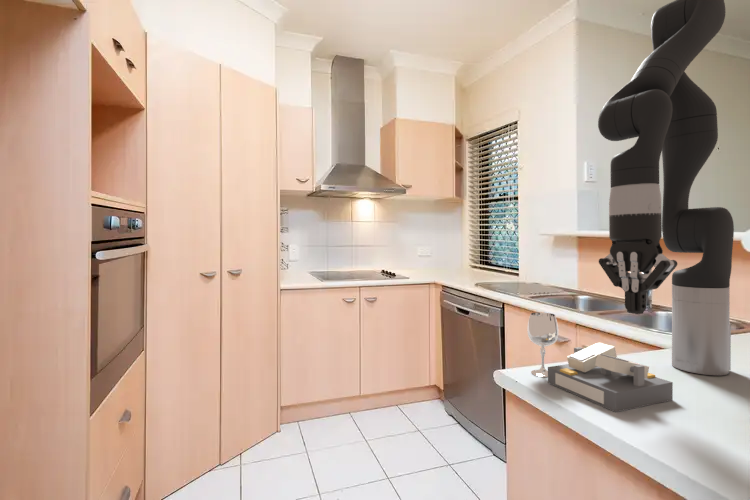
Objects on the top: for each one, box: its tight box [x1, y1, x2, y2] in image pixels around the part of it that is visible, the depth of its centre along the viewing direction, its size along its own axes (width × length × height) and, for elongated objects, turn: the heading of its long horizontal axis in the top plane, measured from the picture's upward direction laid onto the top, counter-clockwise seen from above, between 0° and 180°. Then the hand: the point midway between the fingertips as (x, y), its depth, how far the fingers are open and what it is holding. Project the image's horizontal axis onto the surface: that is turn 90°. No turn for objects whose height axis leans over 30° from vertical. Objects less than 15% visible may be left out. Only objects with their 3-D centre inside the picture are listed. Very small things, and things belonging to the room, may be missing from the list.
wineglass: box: [526, 312, 559, 378], centre depth 80 cm, size 6×6×12 cm
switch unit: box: [547, 346, 674, 413], centre depth 70 cm, size 13×14×6 cm
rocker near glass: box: [567, 342, 618, 372], centre depth 73 cm, size 8×4×2 cm, turn 110°
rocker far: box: [595, 354, 650, 378], centre depth 68 cm, size 8×4×2 cm, turn 110°
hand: (635, 313), depth 69 cm, fingers closed
